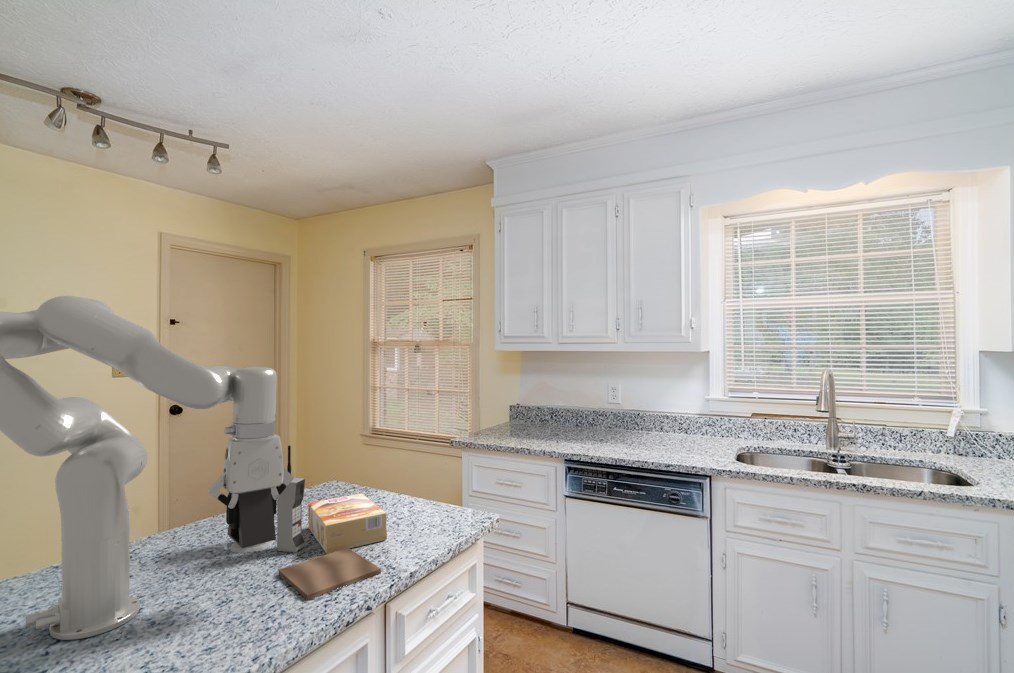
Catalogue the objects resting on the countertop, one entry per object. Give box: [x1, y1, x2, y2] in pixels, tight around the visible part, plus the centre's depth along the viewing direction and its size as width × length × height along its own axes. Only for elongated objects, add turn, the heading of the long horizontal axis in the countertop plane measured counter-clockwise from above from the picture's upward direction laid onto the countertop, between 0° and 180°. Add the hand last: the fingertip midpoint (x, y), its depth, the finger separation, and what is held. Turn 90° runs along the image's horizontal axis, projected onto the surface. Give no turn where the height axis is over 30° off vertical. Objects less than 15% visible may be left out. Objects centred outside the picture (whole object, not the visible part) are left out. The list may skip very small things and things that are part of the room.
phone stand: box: [227, 488, 277, 548], centre depth 98 cm, size 9×6×12 cm, turn 45°
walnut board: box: [278, 548, 382, 601], centre depth 108 cm, size 16×15×1 cm
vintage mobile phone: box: [276, 445, 306, 554], centre depth 121 cm, size 4×5×25 cm
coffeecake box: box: [307, 493, 388, 555], centre depth 130 cm, size 15×7×20 cm
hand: (251, 521), depth 98 cm, fingers closed on phone stand, 6 cm apart
